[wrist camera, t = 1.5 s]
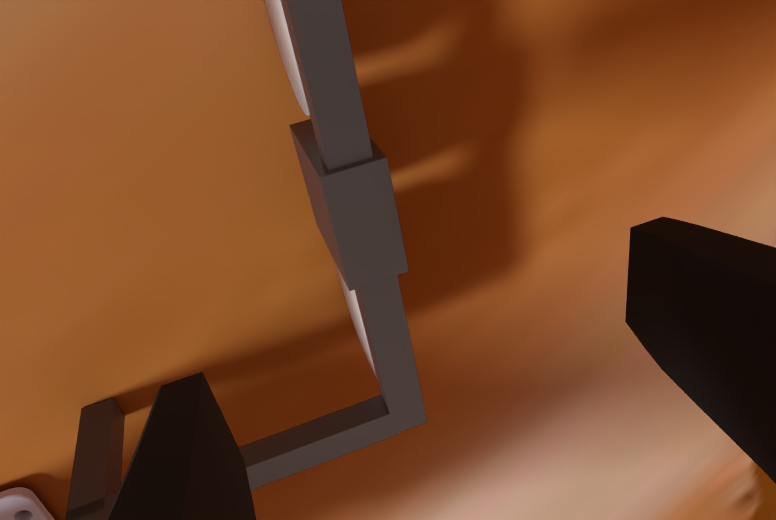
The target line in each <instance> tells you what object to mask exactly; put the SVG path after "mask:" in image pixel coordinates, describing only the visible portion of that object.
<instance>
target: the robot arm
mask: <svg viewBox="0 0 776 520" xmlns="http://www.w3.org/2000/svg"><path fill="white" fill-rule="evenodd" d="M625 322H626V323H627V324H628V326H629V327H630V328H631V330H632V331H633V332H634V334H635V335H636V337H637V338H638V339H639V341H640V342H641V343H642V345H643V346H644V347H645V349H646V350H647V351H648V352H649V354H650V355H651V356H652V357H653V359H654V360H655V361H656V363H657V364H658V365H659V366H660V368H661V369H662V370H663V371H664V372H665V373H666V374H667V375H668V376H669V377H670V378H671V379H672V380H673V381H674V382H675V383H676V384H677V385H678V386H679V387H680V388H681V389H682V390H683V391H684V392H685V393H686V394H687V395H688V396H689V397H690V398H691V399H692V400H693V401H694V402H695V403H696V404H697V405H698V406H699V407H700V408H701V409H702V410H703V411H704V412H705V413H706V414H707V415H708V416H709V417H710V418H711V419H712V420H713V421H714V422H715V423H716V424H717V425H718V426H719V427H720V428H721V429H722V430H723V431H724V432H725V433H726V434H727V435H728V436H729V437H730V438H731V439H732V440H733V441H734V442H735V443H736V444H737V445H738V446H739V447H740V448H741V449H742V450H743V451H744V452H745V453H746V454H747V455H748V456H749V457H750V458H751V459H752V460H753V461H754V462H755V463H756V464H757V465H758V466H759V467H760V468H761V469H763V471H764V472H765V473H766V474H767V475H768V476H769V477H770V478H771V479H772V480H773V481H774V482H775V483H776V248H775V247H771V246H768V245H764V244H761V243H758V242H754V241H751V240H747V239H744V238H741V237H737V236H734V235H730V234H727V233H724V232H720V231H717V230H713V229H710V228H706V227H703V226H699V225H695V224H692V223H688V222H684V221H680V220H676V219H671V218H667V217H660V218H658V219H655V220H652V221H649V222H646V223H643V224H640V225H637V226H634V227H631V230H630V248H629V266H628V284H627V303H626V321H625ZM22 510H26V512H22ZM0 520H55V519H54V518H53V517H52V515H51V514H50V513H49V512H48V510H47V509H46V508H45V507H44V505H43V504H42V503H41V502H40V500H39V499H38V498H37V496H36V495H35V494H34V493H33V492H32V491H31V490H30V489H27V488H24V487H16V488H11V489H8V490H5V491H2V492H0ZM106 520H256V516H255V511H254V505H253V500H252V495H251V490H250V485H249V480H248V476H247V471H246V466H245V461H244V458H243V456H242V454H241V452H240V450H239V448H238V446H237V444H236V442H235V439H234V437H233V435H232V433H231V431H230V429H229V427H228V425H227V423H226V421H225V418H224V416H223V414H222V412H221V410H220V408H219V406H218V404H217V402H216V400H215V398H214V395H213V393H212V391H211V389H210V387H209V385H208V383H207V381H206V379H205V377H204V374H203V372H201V373H198V374H195V375H192V376H189V377H186V378H183V379H180V380H177V381H174V382H171V383H168V384H165V385H162V386H161V388H160V389H159V391H158V393H157V395H156V397H155V400H154V403H153V405H152V408H151V411H150V413H149V416H148V419H147V421H146V424H145V427H144V429H143V432H142V435H141V437H140V440H139V442H138V445H137V447H136V450H135V452H134V455H133V457H132V460H131V462H130V465H129V467H128V470H127V472H126V474H125V477H124V479H123V481H122V484H121V486H120V488H119V491H118V493H117V495H116V497H115V500H114V502H113V504H112V507H111V509H110V511H109V514H108V516H107V518H106Z"/></svg>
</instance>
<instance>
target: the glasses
mask: <svg viewBox="0 0 776 520" xmlns="http://www.w3.org/2000/svg"><path fill="white" fill-rule="evenodd" d="M264 2H265V5H266V9H267V13H268V16H269V20H270V23H271V27H272V30H273V33H274V37H275V40H276V43H277V46H278V49H279V53H280V56H281V59H282V62H283V64H284V67H285V70H286V73H287V76H288V78H289V81H290V84H291V86H292V89H293V91H294V94H295V96H296V98H297V100H298V102H299V104H300V106H301V108H302V110H303V112H304V113H305V114H306V115H307V116H309V115H310V117H311V119H309V120H306V121H302V122H299V123H295V124H292V125H289V126H290V129H291V133H292V137H293V140H294V144H295V147H296V151H297V155H298V158H299V162H300V165H301V169H302V173H303V176H304V180H305V183H306V187H307V191H308V194H309V198H310V202H311V205H312V209H313V212H314V216H315V220H316V223H317V226H318V228H319V230H320V232H321V234H322V236H323V238H324V240H325V242H326V244H327V246H328V248H329V250H330V252H331V254H332V257H333V259H334V261H335V265H336V269H337V273H338V277H339V280H340V284H341V287H342V290H343V294H344V297H345V300H346V303H347V306H348V309H349V312H350V315H351V318H352V321H353V324H354V327H355V329H356V332H357V335H358V338H359V340H360V343H361V345H362V348H363V350H364V353H365V355H366V358H367V360H368V362H369V364H370V366H371V369H372V371H373V373H374V374H375V376H376V378H377V380H378V384H379V388H380V392H381V395H380V396H377V397H374V398H371V399H369V400H366V401H363V402H361V403H358V404H355V405H353V406H350V407H347V408H344V409H342V410H339V411H336V412H334V413H331V414H328V415H325V416H323V417H320V418H317V419H315V420H312V421H309V422H307V423H304V424H301V425H298V426H296V427H293V428H290V429H288V430H285V431H282V432H279V433H277V434H274V435H271V436H269V437H266V438H263V439H260V440H258V441H255V442H252V443H250V444H247V445H244V446H242V447H239V450H240V452H241V454H242V456H243V458H244V461H245V466H246V471H247V476H248V480H249V485H250V490H254V489H256V488H259V487H261V486H264V485H267V484H269V483H272V482H274V481H277V480H280V479H282V478H285V477H288V476H290V475H293V474H295V473H298V472H301V471H303V470H306V469H308V468H311V467H314V466H316V465H319V464H322V463H324V462H327V461H329V460H332V459H335V458H337V457H340V456H342V455H345V454H348V453H350V452H353V451H355V450H358V449H361V448H363V447H366V446H369V445H371V444H374V443H376V442H379V441H382V440H384V439H387V438H389V437H392V436H395V435H397V434H398V433H399V432H402V431H404V430H407V429H410V428H412V427H415V426H418V425H420V424H423V423H425V422H427V418H426V413H425V408H424V403H423V398H422V394H421V389H420V384H419V379H418V374H417V369H416V364H415V359H414V354H413V349H412V345H411V340H410V335H409V330H408V325H407V320H406V315H405V310H404V305H403V300H402V296H401V291H400V286H399V281H398V276H397V275H400V274H403V273H406V272H409V270H408V265H407V259H406V254H405V249H404V244H403V238H402V233H401V228H400V223H399V217H398V212H397V207H396V202H395V196H394V191H393V186H392V181H391V175H390V170H389V165H388V160H387V157H386V156H385V154H384V153H383V152H382V151H381V150H380V149H379V148H378V147H377V145H376V144H375V143H374V142H373V141H372V140H371V139H370V137H369V134H368V129H367V124H366V119H365V114H364V109H363V104H362V99H361V95H360V90H359V85H358V80H357V75H356V70H355V65H354V60H353V55H352V50H351V46H350V41H349V36H348V31H347V26H346V21H345V16H344V11H343V6H342V1H341V0H264ZM124 420H125V416H124V415H123V413H122V411H121V410H120V408H119V406H118V405H117V403H116V401H115V400H114V398H111V399H108V400H105V401H102V402H99V403H96V404H93V405H90V406H88V407H85V408H82V409H81V416H80V423H79V430H78V437H77V443H76V450H75V457H74V464H73V471H72V478H71V485H70V492H69V499H68V506H67V513H66V519H65V520H106V518H107V516H108V514H109V511H110V509H111V507H112V504H113V502H114V500H115V497H116V495H117V493H118V491H119V488H120V486H121V470H122V453H123V436H124Z"/></svg>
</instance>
